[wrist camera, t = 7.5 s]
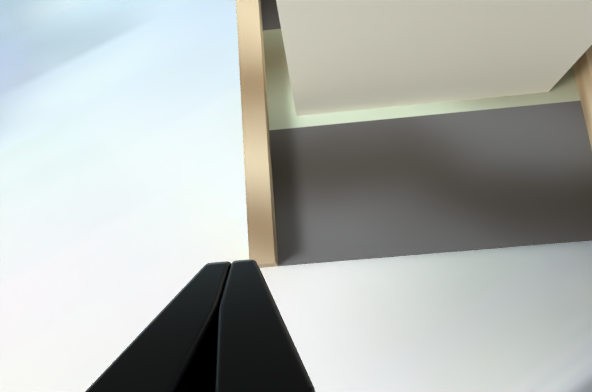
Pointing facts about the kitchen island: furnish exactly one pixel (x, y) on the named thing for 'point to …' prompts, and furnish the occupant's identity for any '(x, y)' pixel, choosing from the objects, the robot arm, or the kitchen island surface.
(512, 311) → the kitchen island surface
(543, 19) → the block
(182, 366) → the robot arm
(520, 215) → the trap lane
